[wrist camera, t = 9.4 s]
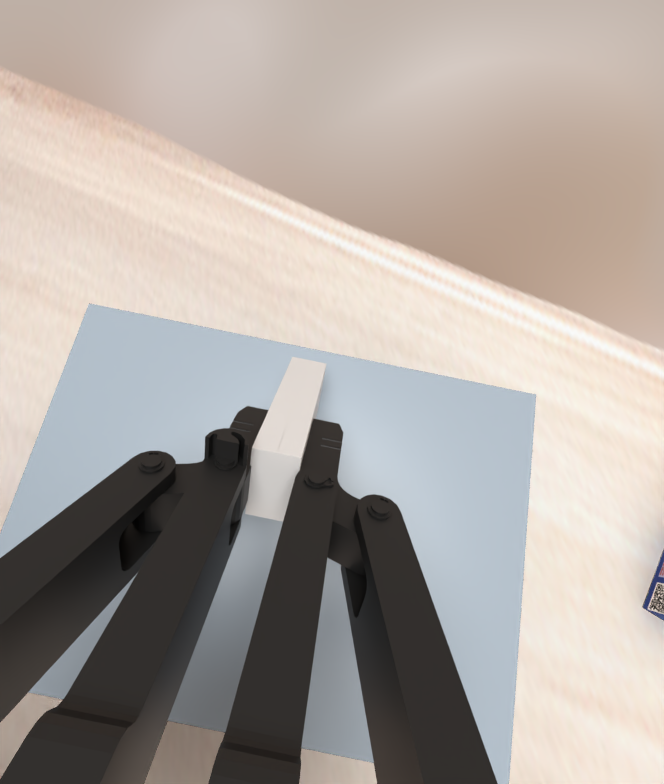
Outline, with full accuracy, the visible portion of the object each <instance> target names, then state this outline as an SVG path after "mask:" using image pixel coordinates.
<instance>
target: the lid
mask: <svg viewBox="0 0 664 784" xmlns="http://www.w3.org/2000/svg"><path fill="white" fill-rule="evenodd" d="M292 357H297V358H302V359H307V360H311V361H316V362H321V363H326V364H327V365H326V370H325V375H324V381H323V386H322V391H321V396H320V402H319V407H318V412H317V417H316V419H319V420H323V421H328V422H333V423H338V424H340V426H341V429H342V431H343V440H342V447H341V454H340V462H339V469H338V482H339V484H340V486H341V487H342V489H343V490H345V491H346V492H347V493H348V494H350V495H352V496H354V497H356V498H358V499H361V498H363V497H364V496H366V495H372V494H376V495H381V496H384V497H387V498H389V499H391V500H392V501H393V502H394V503H395V504H397V506H398V508H399V509H400V511H401V514H402V516H403V519H404V522H405V525H406V528H407V530H408V533H409V536H410V539H411V542H412V544H413V547H414V550H415V553H416V556H417V558H418V561H419V564H420V567H421V570H422V572H423V575H424V578H425V581H426V584H427V587H428V589H429V592H430V595H431V598H432V601H433V603H434V606H435V609H436V612H437V615H438V617H439V620H440V623H441V626H442V629H443V631H444V634H445V637H446V640H447V643H448V645H449V648H450V651H451V654H452V657H453V659H454V662H455V665H456V668H457V671H458V674H459V676H460V679H461V682H462V685H463V688H464V690H465V693H466V696H467V699H468V702H469V704H470V707H471V710H472V713H473V716H474V718H475V721H476V724H477V727H478V730H479V732H480V735H481V738H482V741H483V744H484V746H485V749H486V752H487V755H488V758H489V761H490V763H491V766H492V769H493V772H494V775H495V777H496V780H497V783H498V784H509V775H510V761H511V746H512V732H513V718H514V703H515V689H516V675H517V660H518V646H519V632H520V618H521V603H522V589H523V575H524V560H525V546H526V532H527V517H528V503H529V489H530V474H531V460H532V446H533V431H534V417H535V403H536V395H535V394H530V393H525V392H521V391H516V390H511V389H506V388H501V387H496V386H491V385H486V384H481V383H476V382H472V381H467V380H462V379H457V378H452V377H447V376H442V375H437V374H432V373H427V372H423V371H418V370H413V369H408V368H403V367H398V366H393V365H388V364H383V363H378V362H374V361H369V360H364V359H359V358H354V357H349V356H344V355H339V354H334V353H329V352H325V351H320V350H315V349H310V348H305V347H300V346H295V345H290V344H285V343H280V342H276V341H271V340H266V339H261V338H256V337H251V336H246V335H241V334H236V333H231V332H227V331H222V330H217V329H212V328H207V327H202V326H197V325H192V324H187V323H182V322H178V321H173V320H168V319H163V318H158V317H153V316H148V315H143V314H138V313H133V312H129V311H124V310H119V309H114V308H109V307H104V306H99V305H94V304H89V305H88V308H87V310H86V313H85V315H84V318H83V321H82V323H81V326H80V328H79V331H78V334H77V336H76V339H75V341H74V344H73V346H72V349H71V352H70V354H69V357H68V359H67V362H66V365H65V367H64V370H63V372H62V375H61V378H60V380H59V383H58V385H57V388H56V390H55V393H54V396H53V398H52V401H51V403H50V406H49V409H48V411H47V414H46V416H45V419H44V422H43V424H42V427H41V429H40V432H39V434H38V437H37V440H36V442H35V445H34V447H33V450H32V453H31V455H30V458H29V460H28V463H27V466H26V468H25V471H24V473H23V476H22V478H21V481H20V484H19V486H18V489H17V491H16V494H15V497H14V499H13V502H12V504H11V507H10V510H9V512H8V515H7V517H6V520H5V522H4V525H3V528H2V530H1V533H0V558H1V557H2V556H4V555H5V554H6V553H8V552H9V551H10V550H11V549H13V548H14V547H15V546H17V545H18V544H19V543H21V542H22V541H23V540H25V539H26V538H27V537H29V536H30V535H31V534H33V533H34V532H35V531H36V530H38V529H39V528H40V527H42V526H43V525H44V524H46V523H47V522H48V521H50V520H51V519H52V518H54V517H55V516H56V515H58V514H59V513H60V512H62V511H63V510H64V509H65V508H67V507H68V506H69V505H71V504H72V503H73V502H75V501H76V500H77V499H79V498H80V497H81V496H83V495H84V494H85V493H87V492H88V491H89V490H90V489H92V488H93V487H94V486H96V485H97V484H98V483H100V482H101V481H102V480H104V479H105V478H106V477H108V476H109V475H110V474H112V473H113V472H114V471H116V470H117V469H118V468H119V467H121V466H122V465H123V464H125V463H126V462H127V461H129V460H130V459H131V458H133V457H134V456H136V455H138V454H140V453H143V452H147V451H162V452H166V453H168V454H170V455H171V456H173V458H174V459H175V461H176V464H189V463H197V462H201V461H203V460H204V457H205V436H206V435H208V434H209V433H210V432H212V431H214V430H216V429H223V428H230V425H231V423H232V422H233V420H234V418H235V416H236V415H237V413H238V412H239V411H240V410H242V409H243V408H245V407H246V406H251V407H256V408H261V409H265V410H269V408H270V406H271V404H272V402H273V399H274V397H275V395H276V393H277V390H278V388H279V386H280V384H281V381H282V379H283V377H284V375H285V372H286V370H287V368H288V366H289V363H290V361H291V359H292ZM245 510H246V506H245V509H244V511H243V514H242V519H241V527H240V530H239V533H238V535H237V538H236V540H235V543H234V546H233V548H232V551H231V554H230V556H229V559H228V562H227V564H226V567H225V570H224V572H223V575H222V578H221V580H220V583H219V586H218V588H217V591H216V593H215V596H214V599H213V601H212V604H211V607H210V609H209V612H208V615H207V617H206V620H205V623H204V625H203V628H202V631H201V633H200V636H199V639H198V641H197V644H196V646H195V649H194V652H193V654H192V657H191V660H190V662H189V665H188V668H187V670H186V673H185V676H184V678H183V681H182V684H181V686H180V689H179V692H178V694H177V697H176V699H175V702H174V705H173V707H172V710H171V713H170V715H169V718H168V721H172V722H176V723H181V724H186V725H191V726H196V727H201V728H206V729H211V730H216V731H220V732H226V728H227V725H228V721H229V717H230V714H231V710H232V706H233V703H234V699H235V695H236V692H237V688H238V684H239V681H240V677H241V673H242V670H243V666H244V663H245V659H246V655H247V652H248V648H249V644H250V641H251V637H252V633H253V630H254V626H255V622H256V619H257V615H258V611H259V608H260V604H261V600H262V597H263V593H264V590H265V586H266V582H267V579H268V575H269V571H270V568H271V564H272V560H273V557H274V553H275V549H276V546H277V542H278V538H279V535H280V531H281V527H282V524H283V522H282V521H277V520H273V519H268V518H263V517H258V516H253V515H248V514H245ZM136 575H137V574H136ZM136 575H135V576H134V577H133V578H132V579H131V581H130V582H129V583H128V584H127V585H126V586H125V587H124V588H123V589H122V590H121V591H120V593H119V594H118V595H117V596H116V597H115V598H114V599H113V600H112V601H111V602H110V603H109V604H108V606H107V607H106V608H105V609H104V610H103V611H102V612H101V613H100V614H99V615H98V616H97V618H96V619H95V620H94V621H93V622H92V623H91V624H90V625H89V626H88V627H87V628H86V630H85V631H84V632H83V633H82V634H81V635H80V636H79V637H78V638H77V639H76V640H75V642H74V643H73V644H72V645H71V646H70V647H69V648H68V649H67V650H66V651H65V652H64V654H63V655H62V656H61V657H60V658H59V659H58V660H57V661H56V662H55V663H54V664H53V666H52V667H51V668H50V669H49V670H48V671H47V672H46V673H45V674H44V675H43V676H42V678H41V679H40V680H39V681H38V682H37V683H36V684H35V685H34V686H33V687H32V688H31V690H30V691H29V692H30V693H34V694H39V695H44V696H49V697H54V698H59V699H64V698H65V696H66V695H67V693H68V691H69V690H70V688H71V686H72V685H73V683H74V681H75V679H76V678H77V676H78V674H79V673H80V671H81V669H82V667H83V666H84V664H85V662H86V661H87V659H88V657H89V655H90V654H91V652H92V650H93V649H94V647H95V645H96V643H97V642H98V640H99V638H100V637H101V635H102V633H103V631H104V630H105V628H106V626H107V625H108V623H109V621H110V619H111V618H112V616H113V614H114V613H115V611H116V609H117V607H118V606H119V604H120V602H121V601H122V599H123V597H124V595H125V594H126V592H127V590H128V589H129V587H130V585H131V583H132V582H133V580H134V578H135V577H136ZM301 748H304V749H309V750H313V751H318V752H323V753H328V754H333V755H338V756H343V757H348V758H353V759H358V760H362V761H367V762H372V763H374V760H373V754H372V749H371V743H370V737H369V731H368V725H367V719H366V714H365V708H364V702H363V696H362V690H361V684H360V679H359V673H358V667H357V661H356V655H355V649H354V644H353V638H352V632H351V626H350V620H349V614H348V609H347V603H346V597H345V591H344V585H343V579H342V574H341V565H340V564H338V563H336V562H334V561H333V560H331V559H329V558H327V565H326V572H325V579H324V587H323V594H322V601H321V608H320V615H319V623H318V630H317V637H316V644H315V652H314V659H313V666H312V673H311V680H310V688H309V695H308V702H307V709H306V717H305V724H304V731H303V738H302V746H301Z"/></svg>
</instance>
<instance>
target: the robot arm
mask: <svg viewBox="0 0 664 784" xmlns="http://www.w3.org/2000/svg"><path fill="white" fill-rule="evenodd" d="M326 365H327V364H326V363H321V362H316V361H311V360H307V359H302V358H297V357H292V359H291V361H290V363H289V366H288V368H287V370H286V372H285V375H284V377H283V379H282V381H281V384H280V386H279V388H278V390H277V393H276V395H275V397H274V399H273V402H272V404H271V406H270V408H269V410H265V409H261V408H256V407H251V406H246V407H245V408H243V409H242V410H240V411H239V412H238V413H237V415H236V416H235V418H234V420H233V422H232V423H231V425H230V428H223V429H216V430H214V431H212V432H210V433H209V434H208V435H206V436H205V457H204V460H203V461H201V462H197V463H189V464H176V461H175V459H174V458H173V456H171V455H170V454H168V453H166V452H162V451H147V452H143V453H140V454H138V455H136V456H134V457H133V458H131V459H130V460H129V461H127V462H126V463H125V464H123V465H122V466H121V467H119V468H118V469H117V470H116V471H114V472H113V473H112V474H110V475H109V476H108V477H106V478H105V479H104V480H102V481H101V482H100V483H98V484H97V485H96V486H94V487H93V488H92V489H90V490H89V491H88V492H87V493H85V494H84V495H83V496H81V497H80V498H79V499H77V500H76V501H75V502H73V503H72V504H71V505H69V506H68V507H67V508H65V509H64V510H63V511H62V512H60V513H59V514H58V515H56V516H55V517H54V518H52V519H51V520H50V521H48V522H47V523H46V524H44V525H43V526H42V527H40V528H39V529H38V530H36V531H35V532H34V533H33V534H31V535H30V536H29V537H27V538H26V539H25V540H23V541H22V542H21V543H19V544H18V545H17V546H15V547H14V548H13V549H11V550H10V551H9V552H8V553H6V554H5V555H4V556H2V557H1V558H0V722H1V721H2V720H3V719H4V718H5V717H6V716H7V715H8V714H9V712H10V711H11V710H12V709H13V708H14V707H15V706H16V705H17V704H18V703H19V702H20V700H21V699H22V698H23V697H24V696H25V695H26V694H27V693H28V692H29V691H30V690H31V688H32V687H33V686H34V685H35V684H36V683H37V682H38V681H39V680H40V679H41V678H42V676H43V675H44V674H45V673H46V672H47V671H48V670H49V669H50V668H51V667H52V666H53V664H54V663H55V662H56V661H57V660H58V659H59V658H60V657H61V656H62V655H63V654H64V652H65V651H66V650H67V649H68V648H69V647H70V646H71V645H72V644H73V643H74V642H75V640H76V639H77V638H78V637H79V636H80V635H81V634H82V633H83V632H84V631H85V630H86V628H87V627H88V626H89V625H90V624H91V623H92V622H93V621H94V620H95V619H96V618H97V616H98V615H99V614H100V613H101V612H102V611H103V610H104V609H105V608H106V607H107V606H108V604H109V603H110V602H111V601H112V600H113V599H114V598H115V597H116V596H117V595H118V594H119V593H120V591H121V590H122V589H123V588H124V587H125V586H126V585H127V584H128V583H129V582H130V581H131V579H132V578H133V577H134V576H135V575H136V574H137V575H136V577H135V578H134V580H133V582H132V583H131V585H130V587H129V589H128V590H127V592H126V594H125V595H124V597H123V599H122V601H121V602H120V604H119V606H118V607H117V609H116V611H115V613H114V614H113V616H112V618H111V619H110V621H109V623H108V625H107V626H106V628H105V630H104V631H103V633H102V635H101V637H100V638H99V640H98V642H97V643H96V645H95V647H94V649H93V650H92V652H91V654H90V655H89V657H88V659H87V661H86V662H85V664H84V666H83V667H82V669H81V671H80V673H79V674H78V676H77V678H76V679H75V681H74V683H73V685H72V686H71V688H70V690H69V691H68V693H67V695H66V696H65V698H64V699H63V701H62V702H61V703H60V704H59V705H58V706H57V707H55V708H53V709H51V710H49V711H47V712H45V713H44V714H43V716H42V717H41V718H40V719H39V720H38V721H37V722H36V723H35V725H34V726H33V728H32V729H31V731H30V732H29V734H28V735H27V736H26V738H25V740H24V741H23V743H22V745H21V746H20V748H19V750H18V751H17V753H16V754H15V756H14V758H13V759H12V761H11V763H10V764H9V766H8V768H7V769H6V771H5V773H4V774H3V776H2V777H1V779H0V784H144V783H145V780H146V777H147V774H148V771H149V768H150V766H151V763H152V760H153V758H154V755H155V752H156V750H157V747H158V745H159V742H160V739H161V737H162V734H163V731H164V729H165V726H166V723H167V721H168V718H169V715H170V713H171V710H172V707H173V705H174V702H175V699H176V697H177V694H178V692H179V689H180V686H181V684H182V681H183V678H184V676H185V673H186V670H187V668H188V665H189V662H190V660H191V657H192V654H193V652H194V649H195V646H196V644H197V641H198V639H199V636H200V633H201V631H202V628H203V625H204V623H205V620H206V617H207V615H208V612H209V609H210V607H211V604H212V601H213V599H214V596H215V593H216V591H217V588H218V586H219V583H220V580H221V578H222V575H223V572H224V570H225V567H226V564H227V562H228V559H229V556H230V554H231V551H232V548H233V546H234V543H235V540H236V538H237V535H238V533H239V530H240V527H241V519H242V514H243V511H244V509H245V506H246V510H245V514H248V515H253V516H258V517H263V518H268V519H273V520H277V521H282V522H283V524H282V527H281V531H280V535H279V538H278V542H277V546H276V549H275V553H274V557H273V560H272V564H271V568H270V571H269V575H268V579H267V582H266V586H265V590H264V593H263V597H262V600H261V604H260V608H259V611H258V615H257V619H256V622H255V626H254V630H253V633H252V637H251V641H250V644H249V648H248V652H247V655H246V659H245V663H244V666H243V670H242V673H241V677H240V681H239V684H238V688H237V692H236V695H235V699H234V703H233V706H232V710H231V714H230V717H229V721H228V725H227V728H226V732H225V735H224V738H223V741H222V743H221V745H220V747H219V750H218V753H217V756H216V759H215V763H214V766H213V769H212V773H211V776H210V780H209V784H299V779H300V768H301V760H300V755H301V746H302V738H303V731H304V724H305V717H306V709H307V702H308V695H309V688H310V680H311V673H312V666H313V659H314V652H315V644H316V637H317V630H318V623H319V615H320V608H321V601H322V594H323V587H324V579H325V572H326V565H327V558H329V559H331V560H333V561H334V562H336V563H338V564H340V565H341V574H342V579H343V585H344V591H345V597H346V603H347V609H348V614H349V620H350V626H351V632H352V638H353V644H354V649H355V655H356V661H357V667H358V673H359V679H360V684H361V690H362V696H363V702H364V708H365V714H366V719H367V725H368V731H369V737H370V743H371V749H372V754H373V760H374V766H375V772H376V778H377V784H498V783H497V780H496V777H495V775H494V772H493V769H492V766H491V763H490V761H489V758H488V755H487V752H486V749H485V746H484V744H483V741H482V738H481V735H480V732H479V730H478V727H477V724H476V721H475V718H474V716H473V713H472V710H471V707H470V704H469V702H468V699H467V696H466V693H465V690H464V688H463V685H462V682H461V679H460V676H459V674H458V671H457V668H456V665H455V662H454V659H453V657H452V654H451V651H450V648H449V645H448V643H447V640H446V637H445V634H444V631H443V629H442V626H441V623H440V620H439V617H438V615H437V612H436V609H435V606H434V603H433V601H432V598H431V595H430V592H429V589H428V587H427V584H426V581H425V578H424V575H423V572H422V570H421V567H420V564H419V561H418V558H417V556H416V553H415V550H414V547H413V544H412V542H411V539H410V536H409V533H408V530H407V528H406V525H405V522H404V519H403V516H402V514H401V511H400V509H399V508H398V506H397V504H395V503H394V502H393V501H392V500H391V499H389V498H387V497H384V496H381V495H376V494H372V495H366V496H364V497H363V498H361V499H358V498H356V497H354V496H352V495H350V494H348V493H347V492H346V491H345V490H343V489H342V487H341V486H340V484H339V482H338V469H339V462H340V454H341V447H342V440H343V431H342V429H341V426H340V424H338V423H333V422H328V421H323V420H319V419H316V417H317V412H318V407H319V402H320V396H321V391H322V386H323V381H324V375H325V370H326Z"/></svg>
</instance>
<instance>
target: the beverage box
mask: <svg viewBox="0 0 664 784" xmlns="http://www.w3.org/2000/svg"><path fill="white" fill-rule="evenodd" d="M643 608H644V609H646V610H647V611H649V612H651V613H652V614H654V615H655V616H657V617H659V618H660V619H662V620H663V621H664V550H663V553H662V556H661V559H660V561H659V564H658V567H657V569H656V572H655V575H654V578H653V580H652V583H651V586H650V589H649V591H648V594H647V597H646V599H645V602H644V605H643Z"/></svg>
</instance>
